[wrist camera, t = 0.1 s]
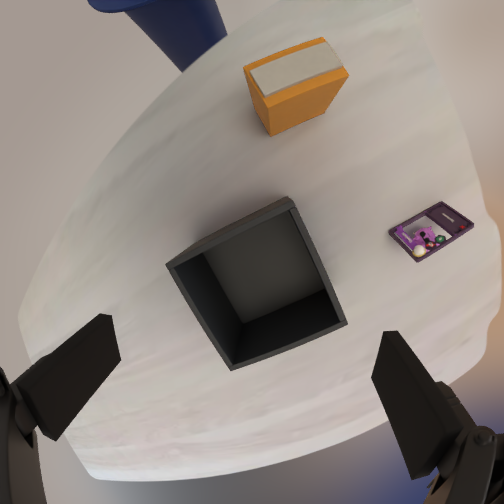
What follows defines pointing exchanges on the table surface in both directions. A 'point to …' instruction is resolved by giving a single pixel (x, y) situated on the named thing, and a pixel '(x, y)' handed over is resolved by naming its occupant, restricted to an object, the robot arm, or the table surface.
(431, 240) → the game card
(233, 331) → the bin
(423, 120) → the table surface
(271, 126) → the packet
